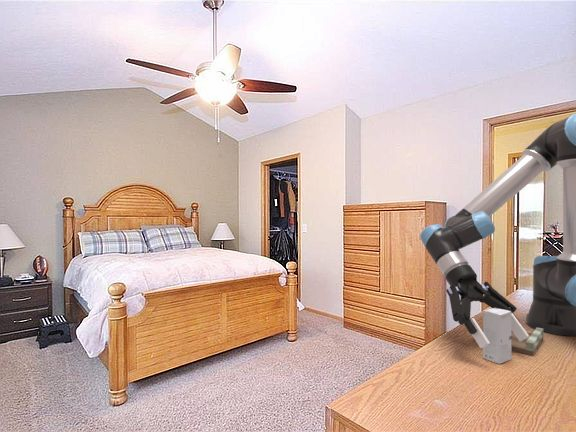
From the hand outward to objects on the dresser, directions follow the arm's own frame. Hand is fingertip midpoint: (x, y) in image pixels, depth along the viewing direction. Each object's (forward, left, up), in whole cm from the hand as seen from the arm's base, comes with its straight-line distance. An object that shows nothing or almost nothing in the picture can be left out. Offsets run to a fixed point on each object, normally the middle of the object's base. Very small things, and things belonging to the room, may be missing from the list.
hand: (505, 342), depth 86 cm
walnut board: (-11, -13, -5) cm, 18 cm away
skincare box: (+1, -2, -5) cm, 6 cm away
